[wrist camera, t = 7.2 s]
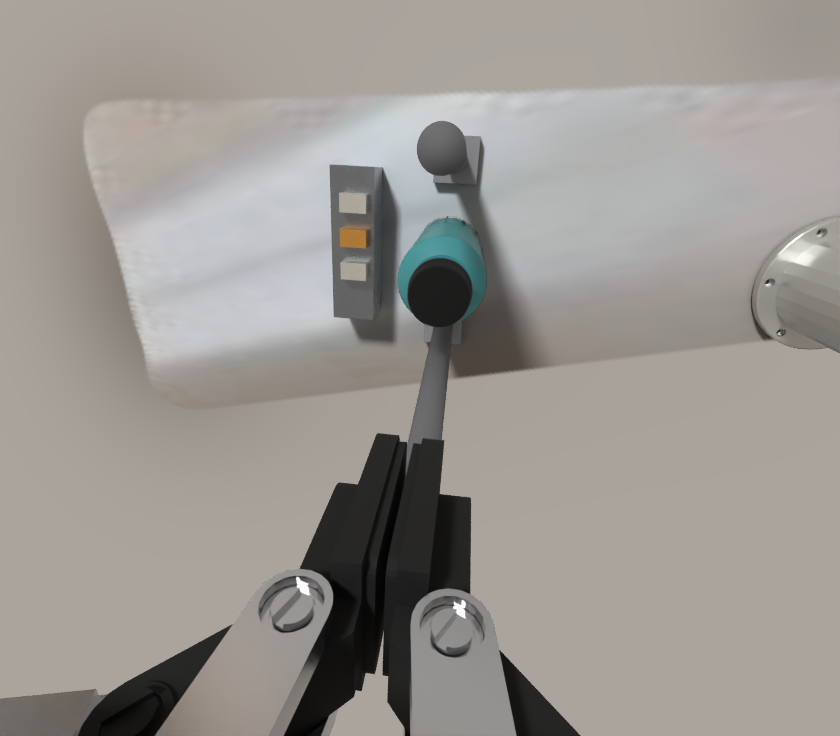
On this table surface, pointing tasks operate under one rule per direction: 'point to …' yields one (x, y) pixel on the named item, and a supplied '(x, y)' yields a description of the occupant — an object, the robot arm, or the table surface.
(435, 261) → the beverage bottle
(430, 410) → the cord post
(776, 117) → the table surface
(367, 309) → the pdu strip
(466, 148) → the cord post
